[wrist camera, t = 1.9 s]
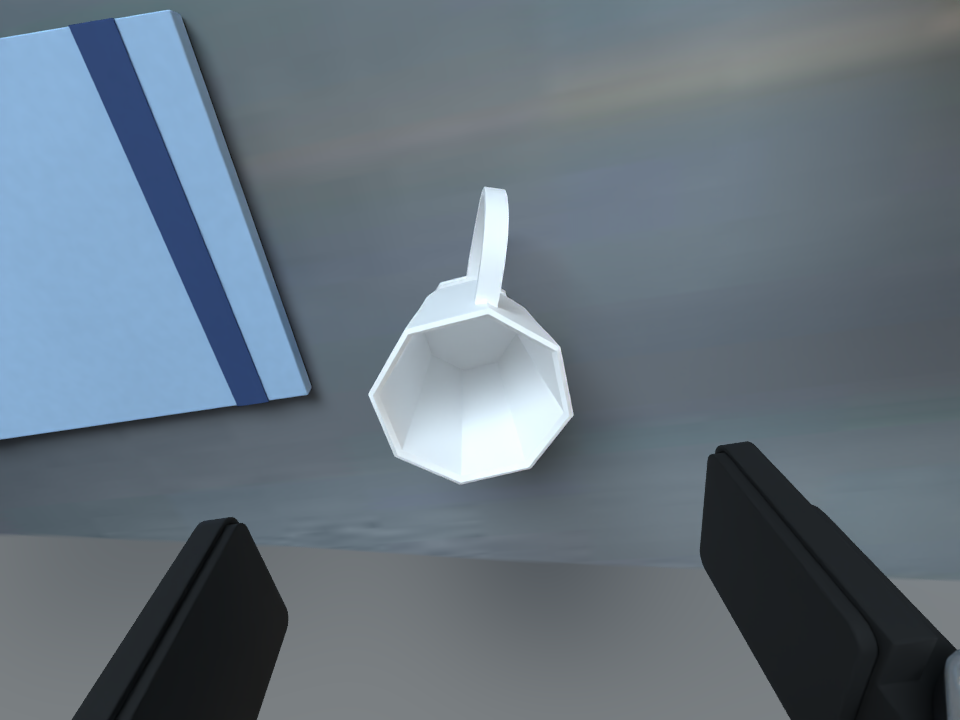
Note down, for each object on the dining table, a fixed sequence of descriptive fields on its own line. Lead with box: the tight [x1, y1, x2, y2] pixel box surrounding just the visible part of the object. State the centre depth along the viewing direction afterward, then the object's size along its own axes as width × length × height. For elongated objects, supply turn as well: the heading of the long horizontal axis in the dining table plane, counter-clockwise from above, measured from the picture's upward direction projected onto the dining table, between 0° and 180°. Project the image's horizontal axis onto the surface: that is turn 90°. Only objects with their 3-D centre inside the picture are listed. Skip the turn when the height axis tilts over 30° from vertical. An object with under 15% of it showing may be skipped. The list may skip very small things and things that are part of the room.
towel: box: [0, 10, 312, 440], centre depth 21 cm, size 16×20×1 cm
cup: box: [368, 187, 574, 485], centre depth 19 cm, size 7×10×8 cm
